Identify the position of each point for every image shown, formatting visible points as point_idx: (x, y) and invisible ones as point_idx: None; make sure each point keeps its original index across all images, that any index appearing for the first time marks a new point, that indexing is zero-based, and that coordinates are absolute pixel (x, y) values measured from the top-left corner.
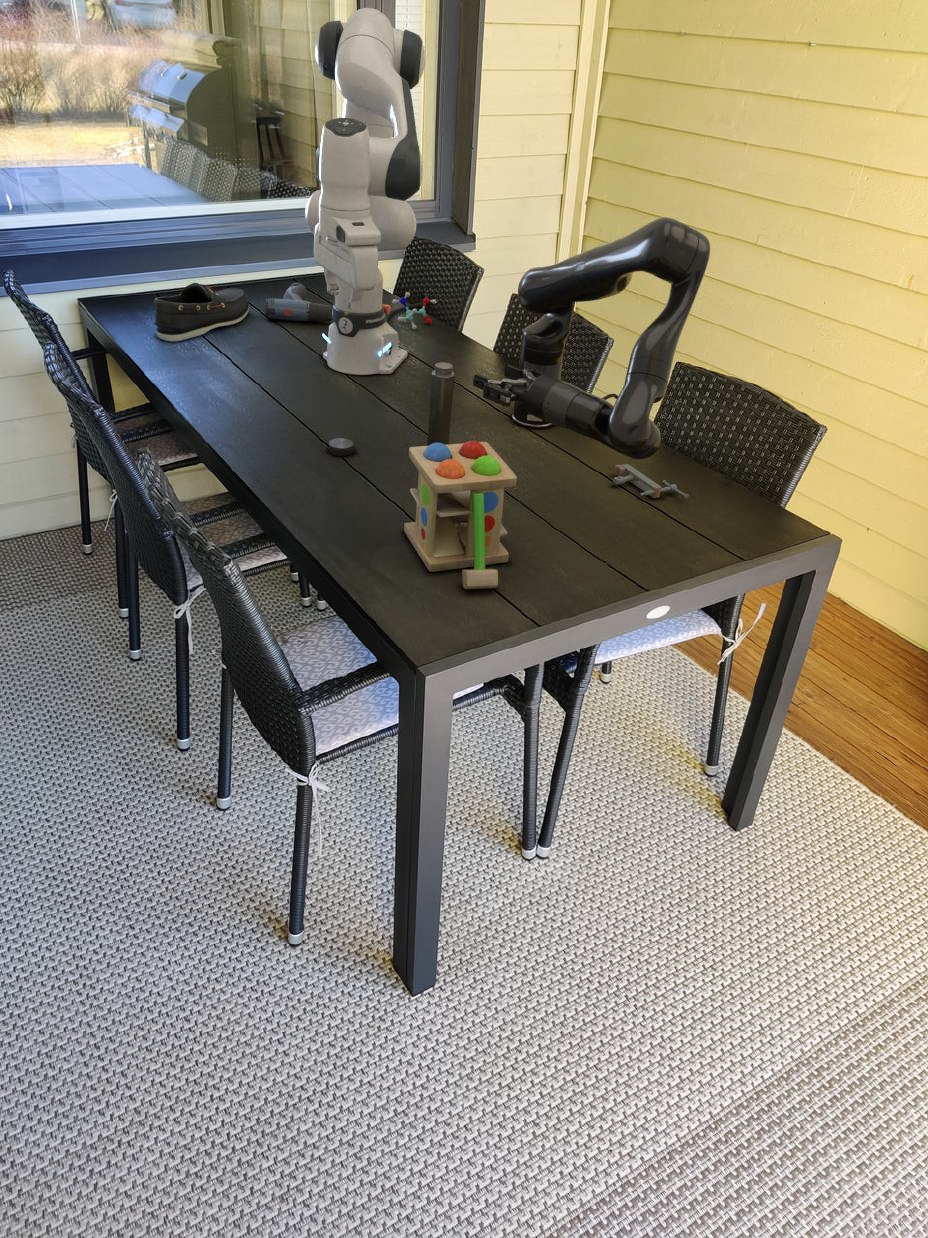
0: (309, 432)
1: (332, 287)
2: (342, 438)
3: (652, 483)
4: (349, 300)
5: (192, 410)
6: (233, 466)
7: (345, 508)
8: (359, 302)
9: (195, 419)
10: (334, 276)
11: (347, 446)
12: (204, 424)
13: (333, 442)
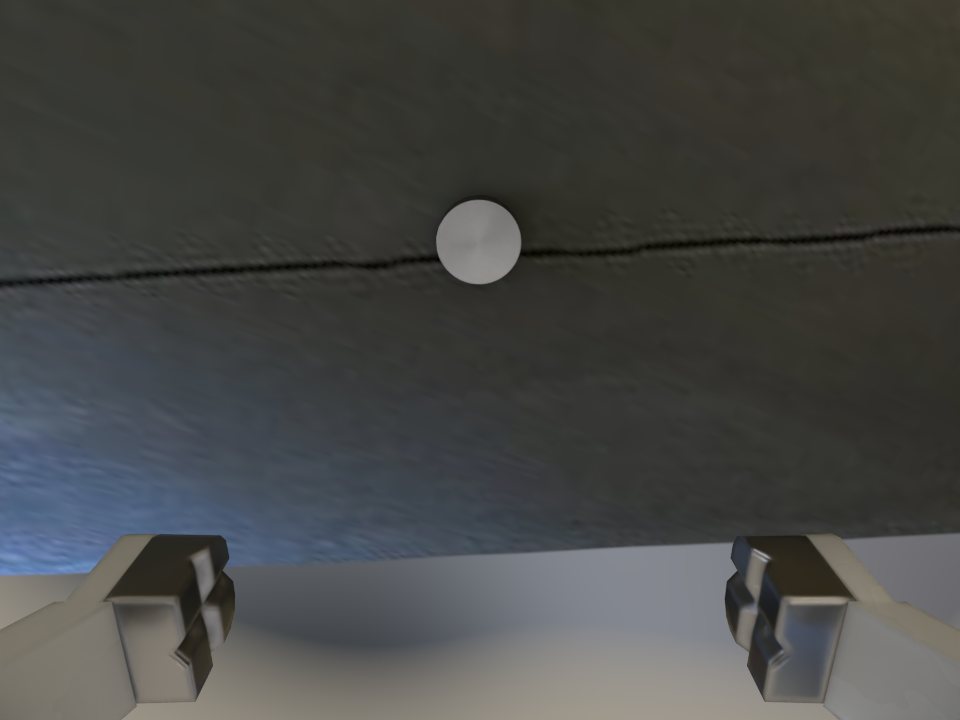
0: (301, 277)
1: (199, 658)
2: (444, 222)
3: None
4: (813, 697)
5: (63, 543)
6: (469, 552)
7: (832, 379)
8: (877, 589)
9: None
10: (7, 693)
11: (512, 233)
12: None
13: (465, 266)
